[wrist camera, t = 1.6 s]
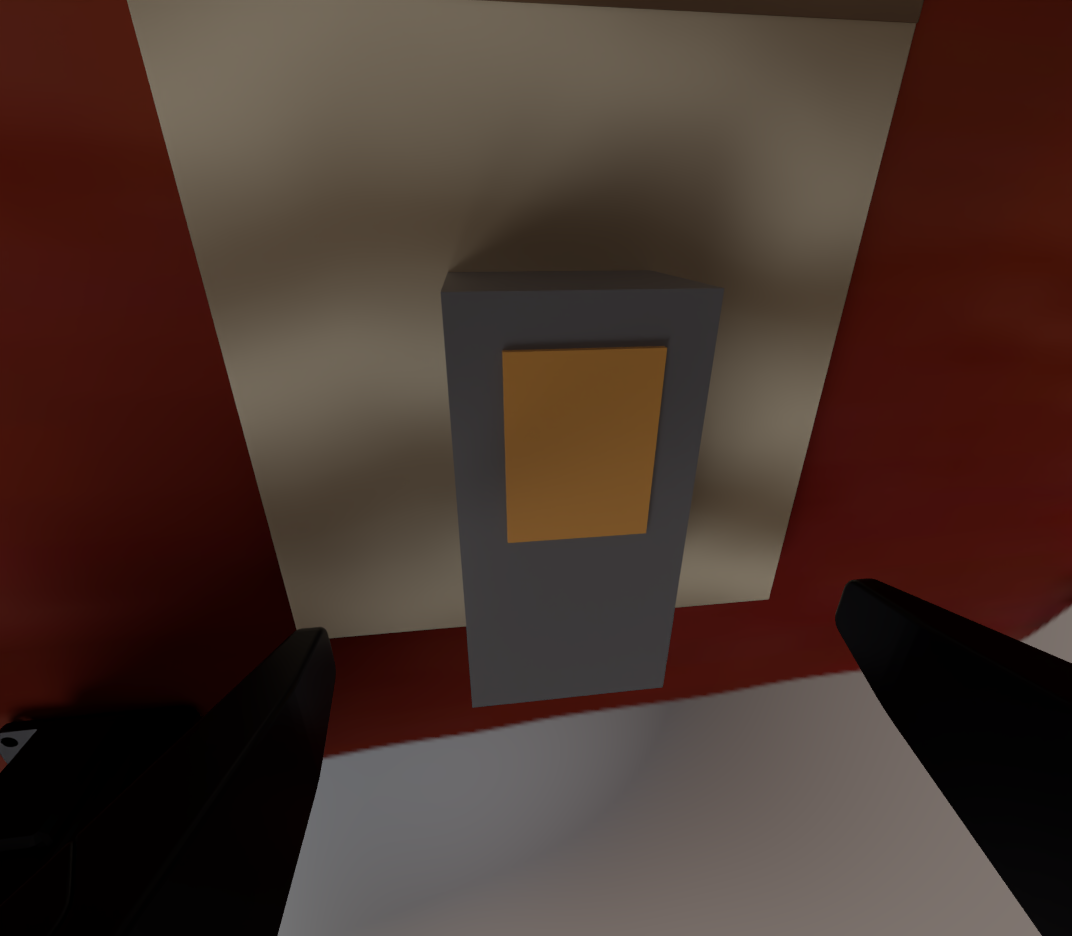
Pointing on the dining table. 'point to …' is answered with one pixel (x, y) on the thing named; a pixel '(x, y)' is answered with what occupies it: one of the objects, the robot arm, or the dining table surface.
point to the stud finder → (574, 470)
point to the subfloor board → (510, 240)
